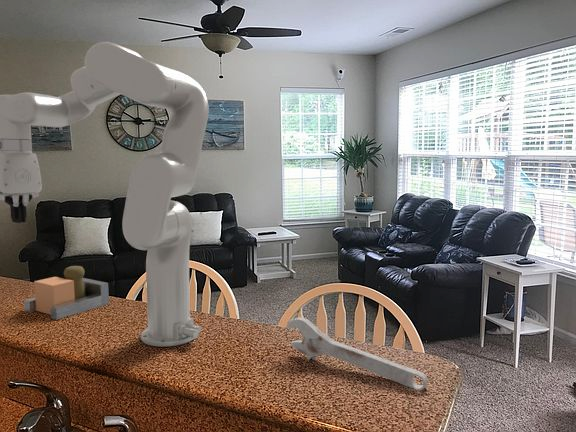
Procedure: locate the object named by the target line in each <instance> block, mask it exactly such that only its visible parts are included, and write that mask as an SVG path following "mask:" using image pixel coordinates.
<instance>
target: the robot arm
mask: <svg viewBox="0 0 576 432" xmlns="http://www.w3.org/2000/svg"><path fill="white" fill-rule="evenodd" d="M70 85H71V89H72V90H71V91H69V92H65V93H64V94H62V95H59V96H56V95H55V96H54V95H48V94H45V93H36V92H30V91H29V92H28V91H27V92H26V91H25V92H19V93H16V94H0V201H4V203H6V204H7V206H8V207H10V208H9V209H10V219H11V222H12V223H16V224H17V223H18V224H22V223H26V222H27V216H28V215H27V206H29V203H30V201H31V200H33V199H34V198H35V199H36V198H38V197H40V192H42V190H43V189H42V188H43V186H42V185H43V184H42V175H41V170H40V169H41V167H40V164H39V160H38V157H37V154H36V153H33V143H32V129H31V128H32V126H34V127H46V128H47V127H48V128H64V127H67V126H71V125H73V124H75V123H78V122H79V121H82V120H84V119H86V118H87V117H89V116H90V115H91V114H92V113H93V112H94V110H95V109H96V107H97V106H98V105H100V104H102V103H104V102H105V103H106V101H109V100H111V99H114V98H116V97H119V96H120V95H122V96H124V97H126V98H128V99H130V100H133V101H135V102H137V103H139V104H142V105H145V106H147V107H154V108H159V109H164V110H165V109H166V110H169V111H170V113H171V115H170V117H169V119H168V121H167V123H166V125H165V127H164V130H163V135H162V141H161V146H160V148H159V149H160V150H159V152H153V153H152V152H151V153H148V154H145V155H144V156H141V158H139V160H137V162H136V163H135V165H134V166H133V168H132V170H131V173H130V176H129V181H128V187H127V192H126V197H125V204H124V209H123V215H122V223H121V225H122V234H123V236H124V238H125V240H126V242H127V243H128V245H130V246H131V247H132V248H134V249H137V250H141V251H147V253H146V260H145V275H146V276H145V278H146V279H145V280H146V309H147V311H146V313H147V328H146V329H144V330H142V332H141V333H140V339H141V341H142V342H143V344H146V345H148V346H151V347H159V348H161V347H165V348H166V347H175V346H181V345H184V344H187V343H190V342H191V341H193V340H195V339H197V338H198V337H199V334H200V333H201V332H202V330H203V329H202V327H201V326H199V325H195V324H194V321H195V320H194V317H191V298H190V297H191V296H190V248H191V247H190V246H191V240H192V239H191V237H192V232H193V220H192V216H191V212H190V211H189V210H188V208H187V207H186V206H185V205H184V204H182V203H181V202H180V201H177V200H176V201H175V200H171V199H172V198H176V197H181V196H185V195H187V194H188V193H190V192H191V190H192V189H193V188H194V186H195V183H196V178H197V174H198V173H197V172H198V168H199V163H200V158H201V153H202V148H203V143H204V142H203V141H204V138H205V133H206V130H207V125H208V119H209V113H210V107H209V100H208V97H207V94H206V92H205V90H204V89H203V88H202V86H201V85H200V84H199V83H198V82H197V81H196V80H195V79H194V78H192V77H190V75H187V74H185V73H183V72H182V71H179V70H176V69H173V68H169V67H166V66H165V65H162V64H158V63H156V62H153V61H151V60H149V59H146V58H144V57H143V56H141V55H140V54H139V53H138V52H137V51H135V50H133V49H130V48H128V47H125V46H122V45H120V44H117V43H114V42H110V41H101V42H97V43H96V44H93V45H92V46H91V47H90V48H88V50H87V51H86V54H85V56H84V66H82V67H80V68H77V69H76V70H74V71H73V72H72V73H71V75H70Z"/></svg>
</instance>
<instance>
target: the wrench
mask: <svg viewBox="0 0 576 432" xmlns="http://www.w3.org/2000/svg"><path fill="white" fill-rule="evenodd" d="M286 329H298V331H299V332H300V333H301V334H302V337H303V338H302V340H301V339H300V340H299V339H298V340H293V341H291V342H290V346H292V347H293V348H294V349H295V350H296V351H297V352H299V353H300V354H303V355H305V356H306V357H307V360H308V361H309V360H312V361H316V360H317V356H322V355H323V356H330V357H333V358H335V359H338V360H341V361H344V362H345V363H349V364H351V365H353V366H356V367H358V368H361V369H363V370H365V371H368V372H370V373H373V374H376V375H378V376H381V377H383V378H386V379H387V380H388V379H389V380H391V381H393V382H395V383H398V384H400V385H403V386H406V387H407V388H410V389H414V390H417V391H423V390H424V389H425V388H426V387H427V385H428V383H429V380H428V377H427V375H426V374H425V373H423V372H422V371H420V370H417V369H414V368H411V367H408V366H406V365H403V364H400V363H397V362H395V361H391V360H389V359H386V358H384V357H381V356H378V355H375V354H373V353H369V352H367V351H364V350H362V349H359V348H355V347H353V346H350V345H347V344H345V343H341V342H338V341H336V340H334V339H332V338H331V337H330V336H329V335H327V334H326V333H324V332H323V331H321V330H320V328H318V327H317V326H316V325H315V324H314V323H312V321H311V320H309V319H307V318H306V317H303V316H300V317H296V318H294V319H292V320H290V321H289V322H288V323H287V325H286ZM415 376H416V377H419V378H420V379H421V380H422V382H423V384H417V383H416V382H415V379H414V377H415Z"/></svg>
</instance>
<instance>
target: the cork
mask: <svg viewBox="0 0 576 432" xmlns="http://www.w3.org/2000/svg"><path fill="white" fill-rule="evenodd" d="M63 276H64V279H68V280H73V281H74V293H75V300H77V299H80V298H84V297H86V293H85V288H84V283H83V278H84V276H85V268H84V267H83V266H81V265H71V266H68V267H66V268H64V271H63Z"/></svg>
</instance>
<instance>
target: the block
mask: <svg viewBox="0 0 576 432" xmlns="http://www.w3.org/2000/svg"><path fill="white" fill-rule="evenodd" d="M33 283H34V284H33V285H34V297H35V303H36V311H37V312H40V313H44V314H47V315H50V316H51V312H50V307H52V306H56V305H59V304H63V303H66V302H70V301H73V300H75V293H74V281H73V280H68V279H66V278H65V277H64V278H62V277H58V276H52V277H48V278H43V279H39V280H34V281H33ZM36 311H35V312H36Z"/></svg>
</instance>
